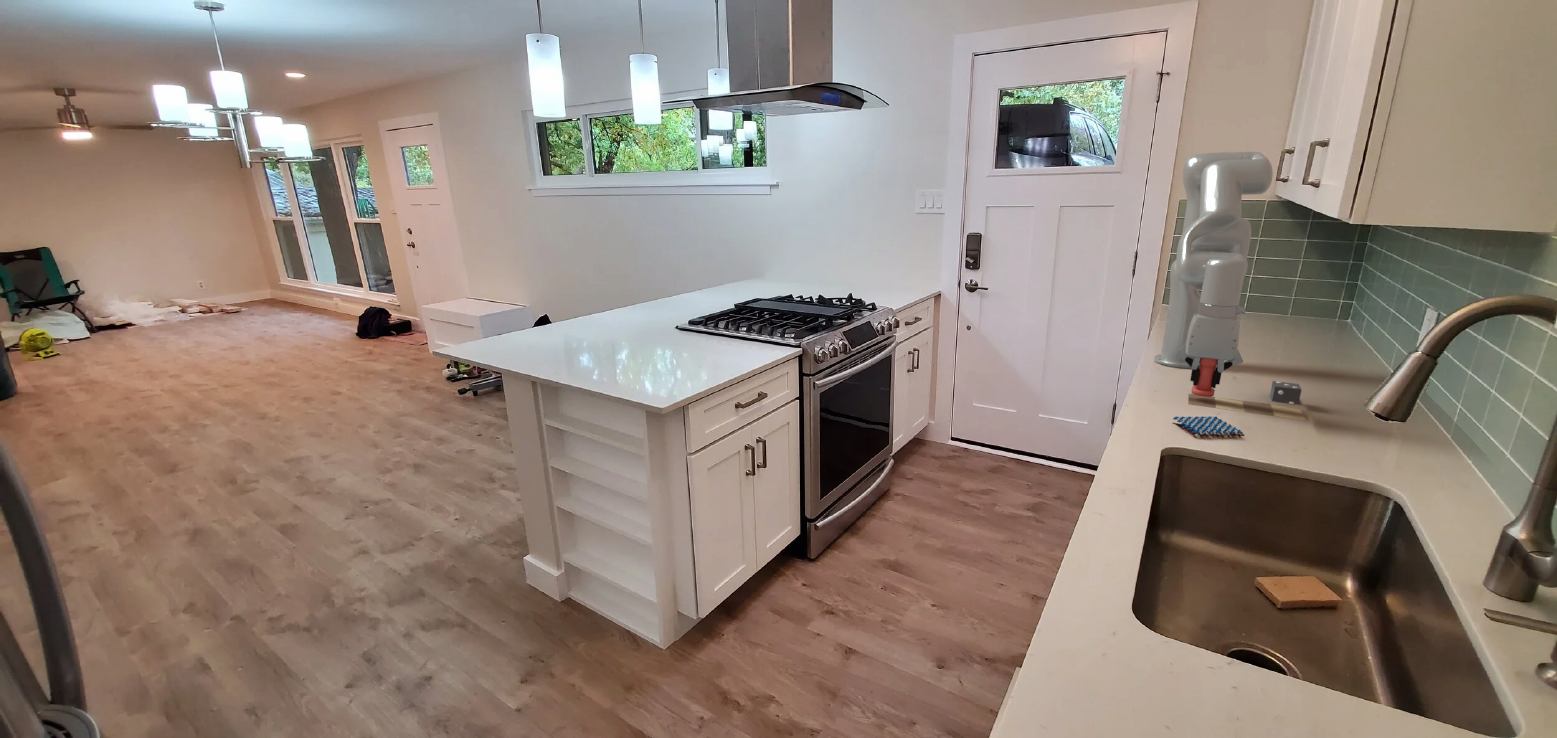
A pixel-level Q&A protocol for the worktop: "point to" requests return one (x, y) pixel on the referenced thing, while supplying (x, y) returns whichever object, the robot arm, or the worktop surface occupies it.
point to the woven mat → (1205, 431)
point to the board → (1246, 406)
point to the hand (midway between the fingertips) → (1204, 384)
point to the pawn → (1205, 378)
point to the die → (1285, 392)
